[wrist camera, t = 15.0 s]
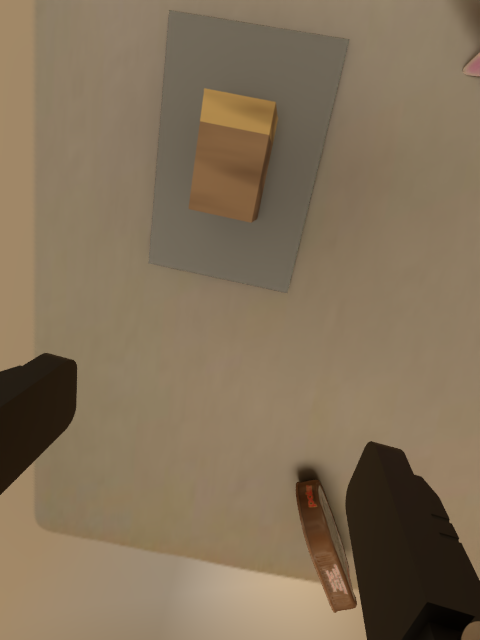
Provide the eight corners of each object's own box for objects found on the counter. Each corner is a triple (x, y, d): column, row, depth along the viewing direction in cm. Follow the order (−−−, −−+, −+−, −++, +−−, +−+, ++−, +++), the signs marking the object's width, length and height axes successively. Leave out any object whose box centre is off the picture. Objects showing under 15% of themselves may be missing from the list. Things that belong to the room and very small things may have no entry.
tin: (292, 466, 40) (293, 532, 32) (318, 461, 39) (326, 528, 31) (326, 554, 44) (334, 631, 36) (350, 551, 43) (364, 629, 35)
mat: (171, 14, 26) (169, 10, 25) (348, 42, 25) (349, 39, 25) (150, 262, 33) (148, 263, 33) (287, 291, 32) (287, 293, 32)
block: (203, 207, 30) (218, 107, 27) (257, 219, 30) (277, 119, 27) (188, 208, 25) (204, 88, 23) (251, 222, 25) (275, 102, 22)
